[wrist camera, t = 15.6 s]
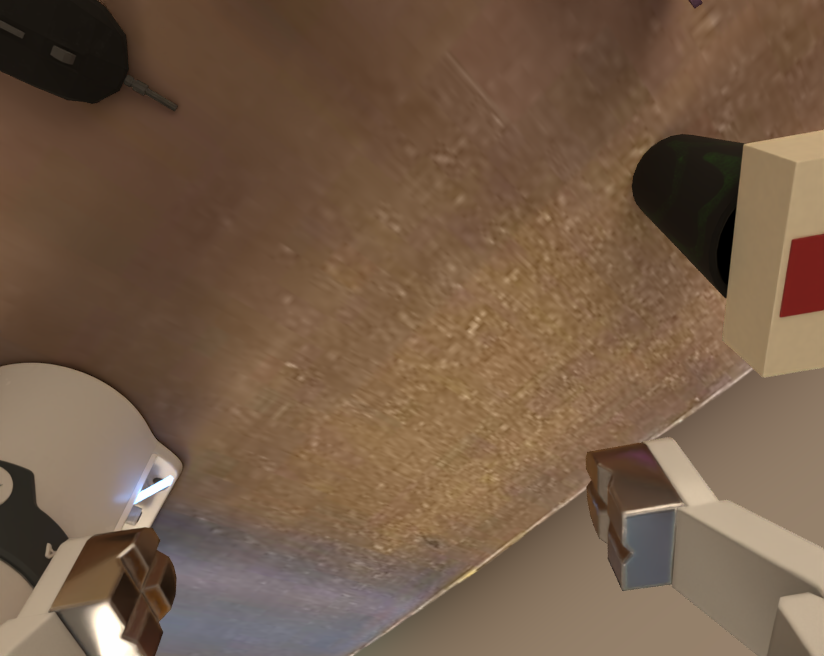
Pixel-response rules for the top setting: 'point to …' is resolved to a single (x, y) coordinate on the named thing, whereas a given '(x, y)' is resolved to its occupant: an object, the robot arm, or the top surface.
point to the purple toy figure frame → (695, 3)
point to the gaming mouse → (67, 49)
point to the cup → (693, 198)
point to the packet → (778, 257)
